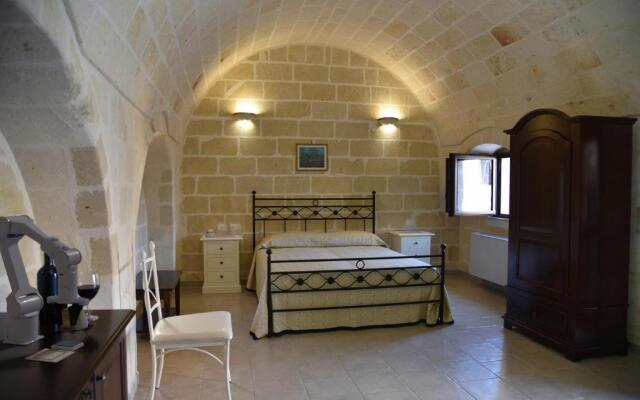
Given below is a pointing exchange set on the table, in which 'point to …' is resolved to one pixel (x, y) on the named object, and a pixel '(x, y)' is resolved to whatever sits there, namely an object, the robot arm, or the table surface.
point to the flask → (82, 321)
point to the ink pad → (67, 345)
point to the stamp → (66, 321)
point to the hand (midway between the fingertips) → (67, 325)
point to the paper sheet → (50, 355)
